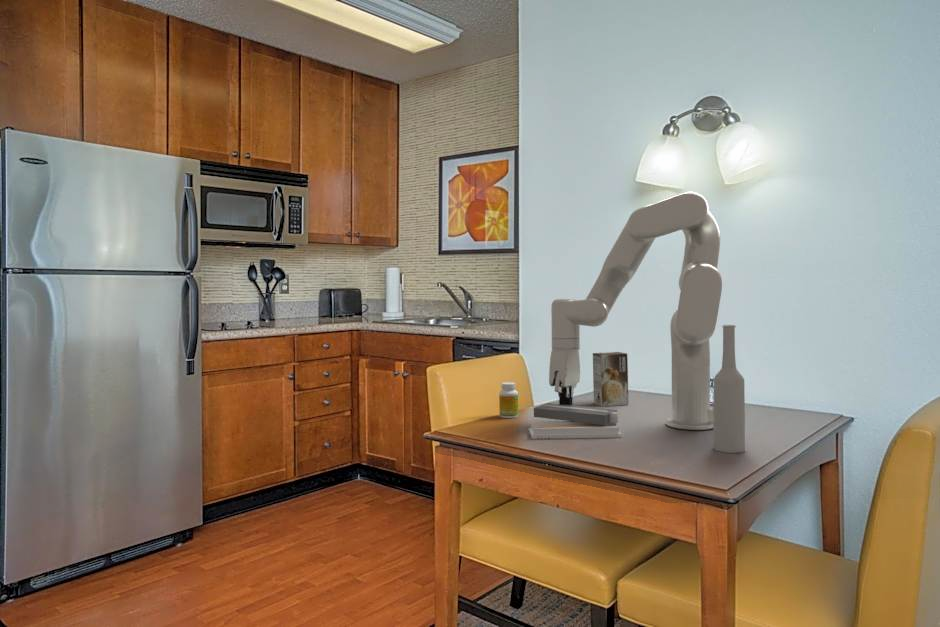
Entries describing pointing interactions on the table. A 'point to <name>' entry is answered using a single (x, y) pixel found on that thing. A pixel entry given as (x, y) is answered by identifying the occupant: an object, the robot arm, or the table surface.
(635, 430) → the table surface
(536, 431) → the duct base
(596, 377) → the coffee box
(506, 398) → the supplement bottle
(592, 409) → the block
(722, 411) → the bottle
